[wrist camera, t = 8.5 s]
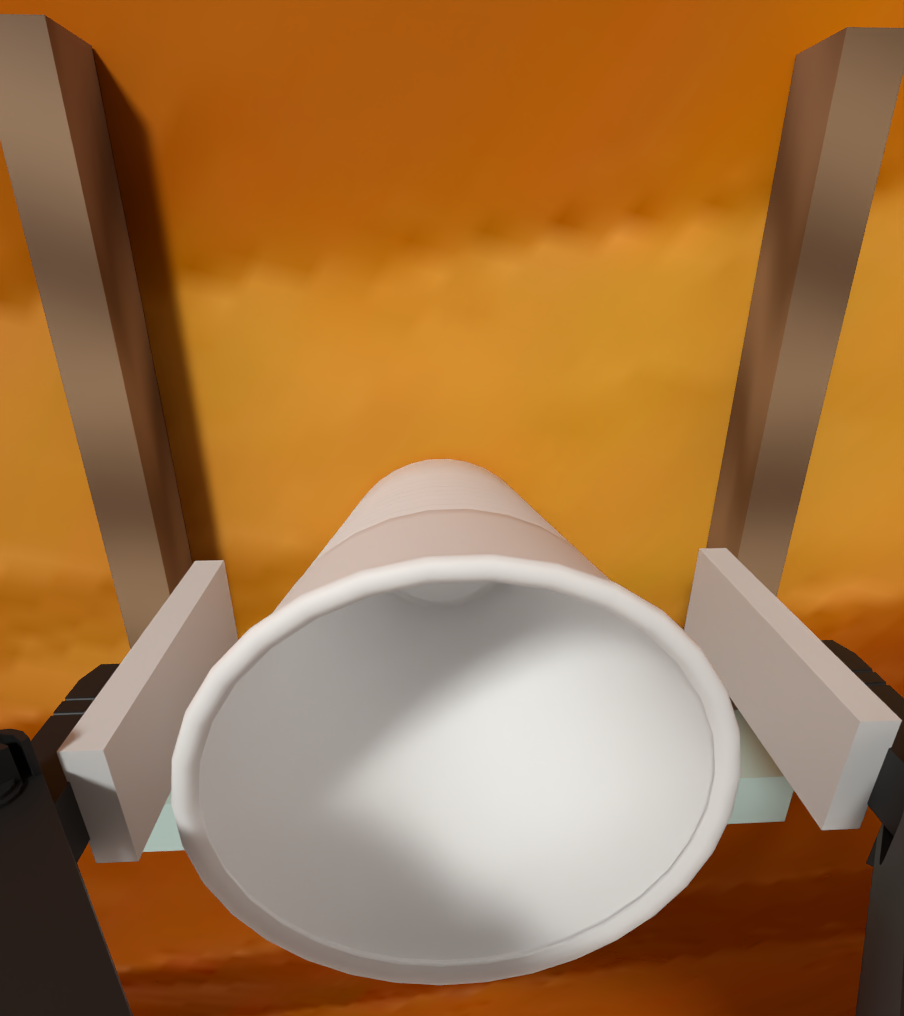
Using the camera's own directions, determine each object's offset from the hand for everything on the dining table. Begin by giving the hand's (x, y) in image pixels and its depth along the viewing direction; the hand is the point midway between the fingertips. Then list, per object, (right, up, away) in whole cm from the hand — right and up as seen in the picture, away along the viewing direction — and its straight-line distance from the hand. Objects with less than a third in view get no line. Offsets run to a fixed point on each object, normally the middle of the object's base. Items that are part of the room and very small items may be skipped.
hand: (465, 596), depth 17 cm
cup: (-1, +1, +4) cm, 4 cm away
